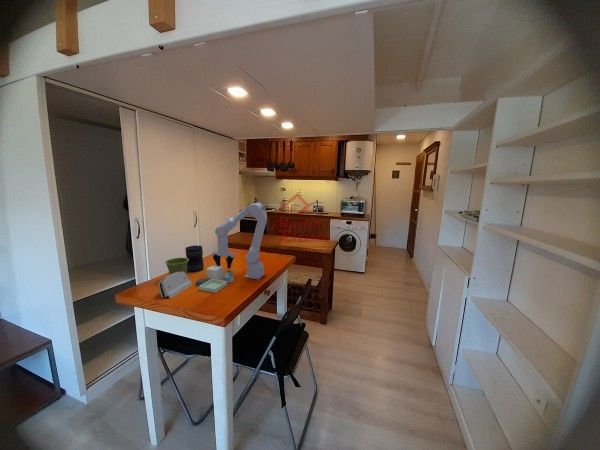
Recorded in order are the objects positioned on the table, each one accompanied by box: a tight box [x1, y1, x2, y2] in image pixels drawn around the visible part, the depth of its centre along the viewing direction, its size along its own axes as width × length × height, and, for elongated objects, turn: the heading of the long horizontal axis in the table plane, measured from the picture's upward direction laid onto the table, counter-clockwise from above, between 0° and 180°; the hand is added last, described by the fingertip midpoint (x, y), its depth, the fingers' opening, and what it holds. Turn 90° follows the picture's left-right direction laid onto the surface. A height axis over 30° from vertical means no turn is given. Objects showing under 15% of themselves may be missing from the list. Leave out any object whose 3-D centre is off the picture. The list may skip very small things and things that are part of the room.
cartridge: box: [222, 269, 235, 284], centre depth 125 cm, size 4×4×6 cm
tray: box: [198, 279, 228, 294], centre depth 118 cm, size 10×10×2 cm
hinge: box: [157, 272, 193, 299], centre depth 114 cm, size 17×5×10 cm, turn 169°
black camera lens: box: [184, 245, 205, 274], centre depth 142 cm, size 10×10×15 cm
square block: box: [195, 277, 209, 287], centre depth 122 cm, size 5×5×2 cm
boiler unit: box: [205, 265, 225, 281], centre depth 128 cm, size 8×6×7 cm
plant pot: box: [164, 257, 189, 275], centre depth 127 cm, size 12×12×11 cm
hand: (223, 267), depth 135 cm, fingers open, 7 cm apart
